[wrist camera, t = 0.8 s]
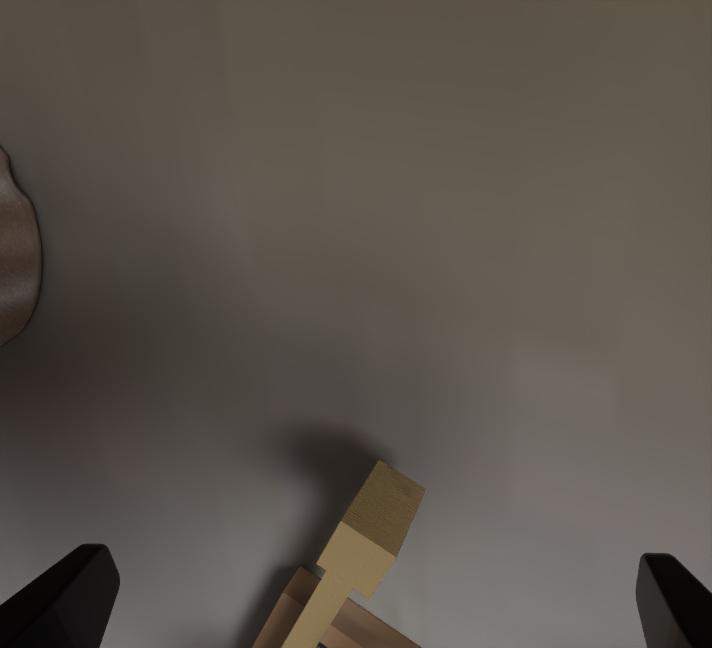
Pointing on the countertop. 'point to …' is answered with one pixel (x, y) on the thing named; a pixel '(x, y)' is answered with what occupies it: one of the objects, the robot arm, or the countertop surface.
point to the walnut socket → (347, 630)
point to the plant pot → (17, 255)
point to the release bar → (359, 550)
